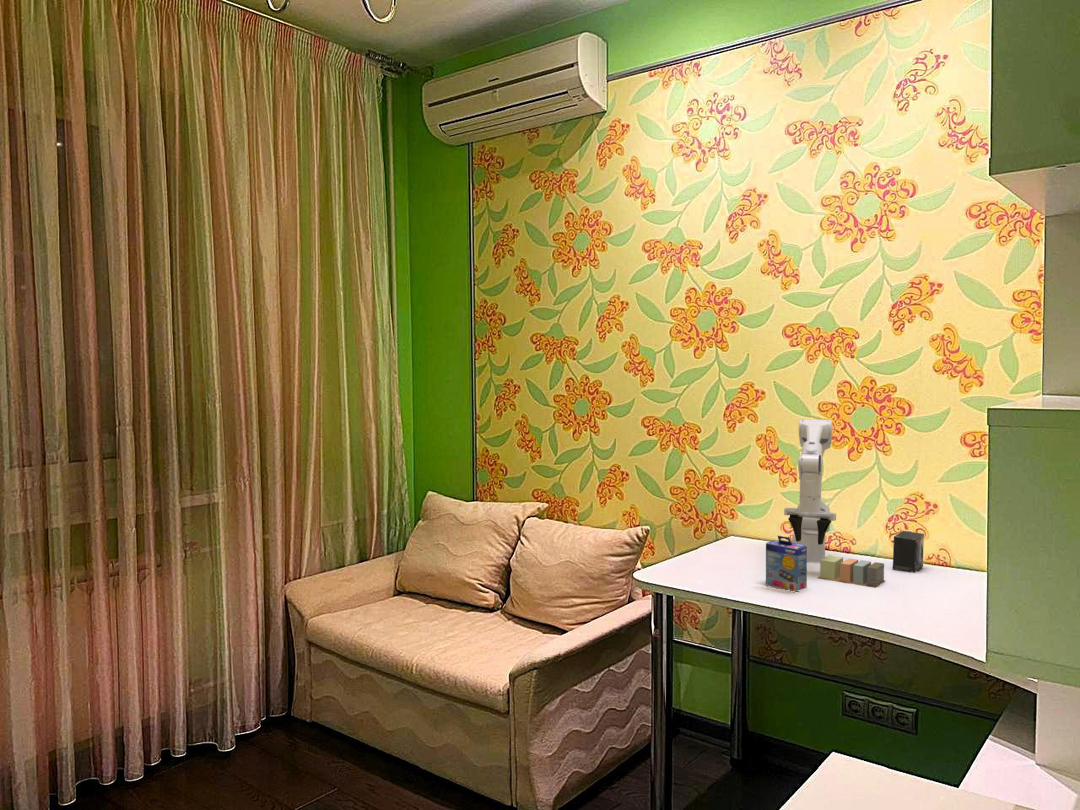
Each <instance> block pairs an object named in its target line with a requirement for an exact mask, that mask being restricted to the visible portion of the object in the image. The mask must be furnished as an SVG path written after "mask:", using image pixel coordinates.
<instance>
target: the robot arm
mask: <svg viewBox="0 0 1080 810" xmlns="http://www.w3.org/2000/svg"><path fill="white" fill-rule="evenodd" d="M832 437H833V421H832V420H831V419H803V418H801V419H799V422H798V438H799V444H800V447H801V454H800V455H798V460H797V470H798V480H799V503H798V505H797V506H796V507H797V508H796V507H794V508H793V507H785V508H784V510H783V511H784V512H783V515H784V516H789V517H788V518H787V520H788V521H789V524H790V526H791V528H792V530H793V534H792V536H791V543H796V544H802V545H806V546H807V563H812V564H818V565H819V564H820V560H822V559H823V558H825V557H826V533H829V532H830V528H831V523H832V522H834V521H836V520H837V513H836V512H831V510H830V507H829V505H827V504H826V503H825V502H824V501H822V485H823V484H822V483H823V482H822V481H823V480H822V479H823V478H822V477H823V475H822V474H823V467H824V466H823V463H824V459H823V458H824V454H825V451H826V450H828V449H831V446H832V441H833V440H832V439H833V438H832Z"/></svg>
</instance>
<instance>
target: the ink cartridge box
mask: <svg viewBox="0 0 1080 810" xmlns="http://www.w3.org/2000/svg"><path fill="white" fill-rule="evenodd" d="M777 539H778V540H776V539H774V540H771V541H768V542H766V543H765V585H767V586H772V587H777V588H776V589H778V588H782V589H785V590H784V591H786V590H790V591H789V592H791V591H795V592H798V593H800V592H801V590H803V589H806V588H808V586H807V585H808V582H807V581H808V576H807V575H808V573H807V571H808V565H807V564H808V562H807V546H806V545H802V544H796V543H792V539H791V538H790V537H788V536H782V535H777ZM783 539H784V540H783ZM782 589H781V590H782ZM795 592H794V593H795Z"/></svg>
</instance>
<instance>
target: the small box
mask: <svg viewBox="0 0 1080 810" xmlns="http://www.w3.org/2000/svg"><path fill="white" fill-rule="evenodd" d="M924 539H925V534H924V533H921V532H920V533H919V532H914V531H907V530H902V531H900V532H899V533H897V534H895V535H894V536H893V546H892V548H893V550H892V551H893V555H892V569H891V570H893V571H898V572H904V573H911V574H915V573H916V572H917V573H918V572H920V570H922V569H923V568H924V547H925V546H924V543H925V540H924ZM922 567H923V568H922Z"/></svg>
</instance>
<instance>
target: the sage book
mask: <svg viewBox="0 0 1080 810" xmlns="http://www.w3.org/2000/svg"><path fill="white" fill-rule="evenodd" d="M843 561H844V557H842V556H837V555H831V554H830V555H827V556H825V558H823V559H822V560H820V565H819V566H820V570H819V573H820V574H819V577H820V578H826V579H832V580H835V579H837V578H838V577H840V563H842V562H843Z"/></svg>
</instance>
